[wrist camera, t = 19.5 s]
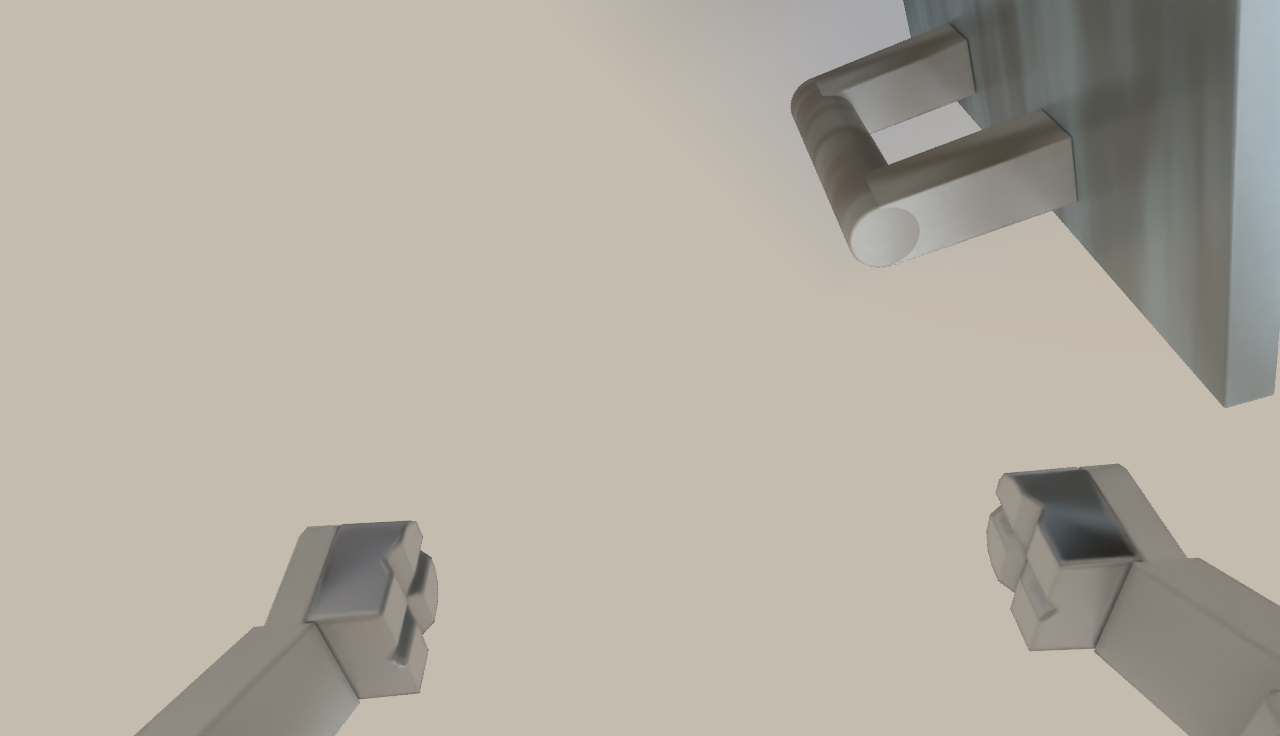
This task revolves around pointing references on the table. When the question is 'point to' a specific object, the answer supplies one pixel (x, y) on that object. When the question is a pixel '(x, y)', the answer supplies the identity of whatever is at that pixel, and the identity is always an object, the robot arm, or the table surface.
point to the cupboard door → (1083, 154)
